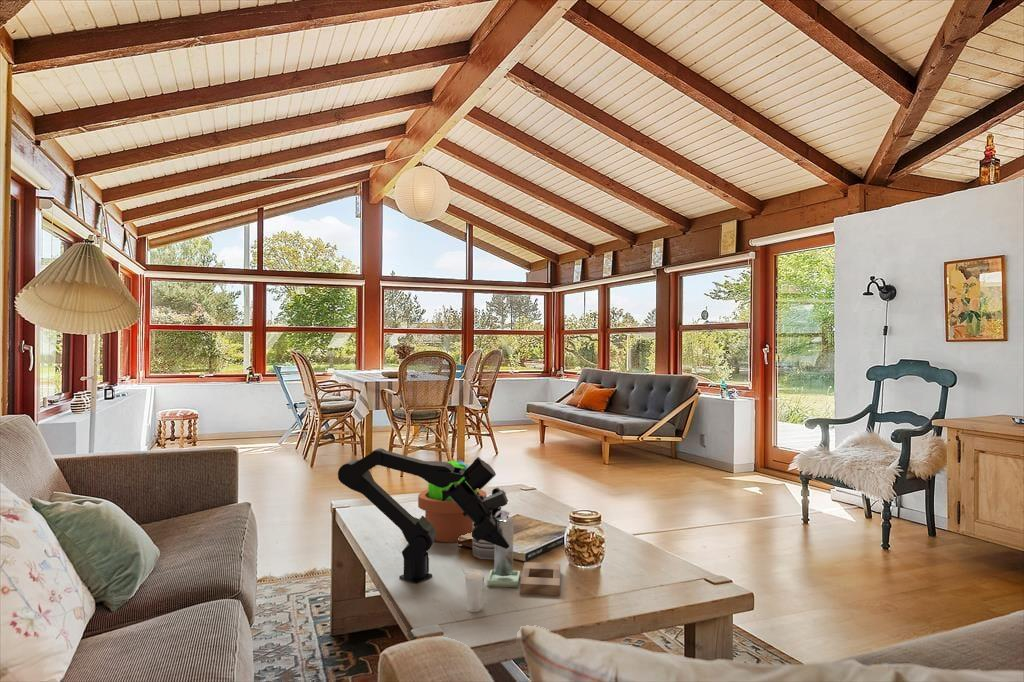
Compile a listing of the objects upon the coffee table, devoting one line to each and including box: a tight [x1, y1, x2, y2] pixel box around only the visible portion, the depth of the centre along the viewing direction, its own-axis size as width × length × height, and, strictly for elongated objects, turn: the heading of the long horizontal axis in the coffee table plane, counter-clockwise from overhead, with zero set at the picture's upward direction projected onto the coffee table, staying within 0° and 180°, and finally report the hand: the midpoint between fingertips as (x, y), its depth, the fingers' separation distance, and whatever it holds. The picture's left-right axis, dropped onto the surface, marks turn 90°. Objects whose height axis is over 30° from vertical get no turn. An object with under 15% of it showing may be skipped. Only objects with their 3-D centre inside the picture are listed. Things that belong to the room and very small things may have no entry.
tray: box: [486, 569, 521, 588], centre depth 168 cm, size 8×8×2 cm
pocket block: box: [519, 561, 561, 596], centre depth 167 cm, size 10×16×2 cm, turn 175°
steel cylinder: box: [493, 517, 515, 576], centre depth 168 cm, size 5×5×14 cm
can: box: [471, 509, 511, 561], centre depth 191 cm, size 11×11×12 cm
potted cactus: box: [417, 459, 487, 544], centre depth 209 cm, size 22×22×25 cm
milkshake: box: [461, 567, 485, 613], centre depth 150 cm, size 4×5×10 cm
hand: (509, 544), depth 168 cm, fingers closed on steel cylinder, 5 cm apart
